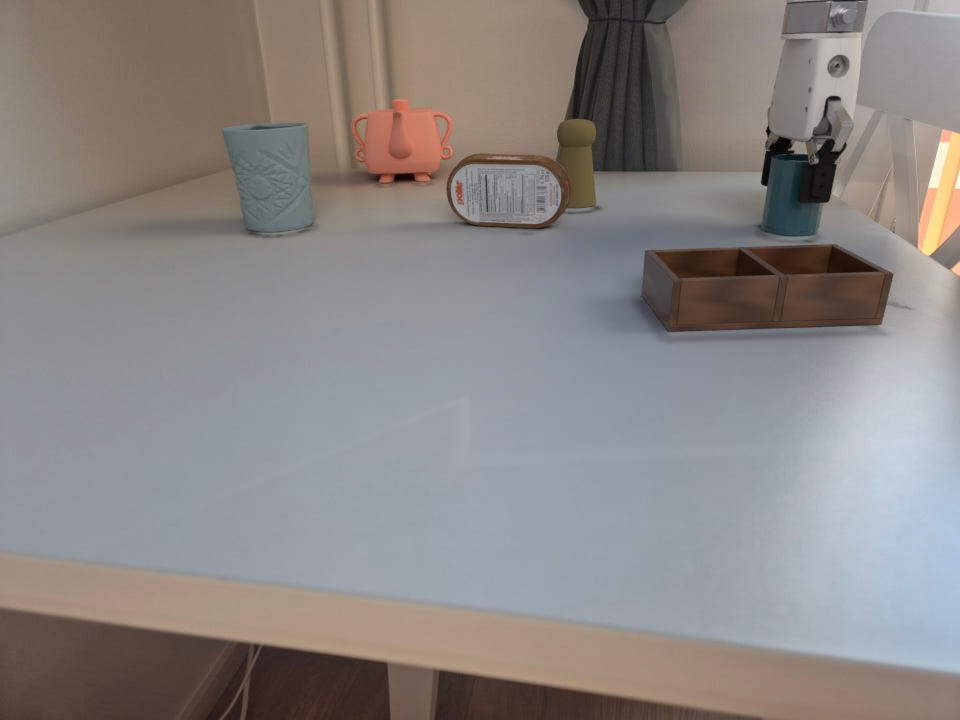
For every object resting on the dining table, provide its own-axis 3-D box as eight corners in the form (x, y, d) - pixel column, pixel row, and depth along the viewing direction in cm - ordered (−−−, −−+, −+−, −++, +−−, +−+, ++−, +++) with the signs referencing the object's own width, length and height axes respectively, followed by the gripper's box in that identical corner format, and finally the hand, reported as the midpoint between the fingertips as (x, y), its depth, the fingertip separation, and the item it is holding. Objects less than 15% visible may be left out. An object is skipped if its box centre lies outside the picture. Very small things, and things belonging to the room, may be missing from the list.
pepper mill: (604, 205, 92) (608, 119, 88) (565, 209, 90) (567, 122, 86) (582, 197, 97) (585, 116, 93) (544, 201, 95) (545, 119, 91)
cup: (802, 222, 80) (815, 152, 77) (827, 235, 75) (842, 160, 72) (752, 224, 80) (762, 154, 77) (774, 236, 75) (785, 162, 72)
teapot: (409, 167, 127) (404, 95, 121) (470, 176, 116) (468, 97, 111) (342, 178, 117) (333, 100, 112) (402, 189, 106) (395, 103, 101)
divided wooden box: (827, 289, 59) (836, 243, 57) (881, 324, 51) (894, 273, 49) (641, 295, 58) (644, 249, 57) (668, 331, 51) (673, 280, 49)
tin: (570, 225, 82) (573, 153, 79) (566, 231, 79) (568, 157, 76) (452, 220, 86) (450, 152, 83) (445, 226, 83) (441, 155, 80)
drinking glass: (257, 237, 80) (240, 131, 75) (226, 223, 88) (208, 126, 83) (334, 223, 86) (322, 124, 81) (298, 211, 93) (286, 119, 88)
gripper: (910, 19, 61) (867, 209, 68) (818, 25, 77) (791, 179, 84) (827, 21, 61) (793, 211, 68) (752, 26, 77) (731, 180, 84)
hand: (792, 193), depth 76 cm, fingers open, 9 cm apart
